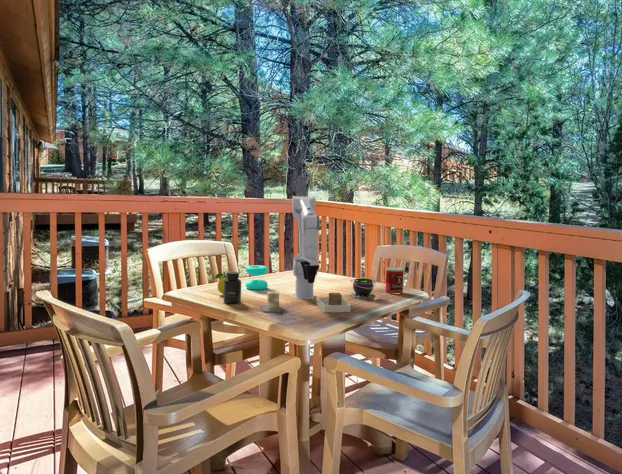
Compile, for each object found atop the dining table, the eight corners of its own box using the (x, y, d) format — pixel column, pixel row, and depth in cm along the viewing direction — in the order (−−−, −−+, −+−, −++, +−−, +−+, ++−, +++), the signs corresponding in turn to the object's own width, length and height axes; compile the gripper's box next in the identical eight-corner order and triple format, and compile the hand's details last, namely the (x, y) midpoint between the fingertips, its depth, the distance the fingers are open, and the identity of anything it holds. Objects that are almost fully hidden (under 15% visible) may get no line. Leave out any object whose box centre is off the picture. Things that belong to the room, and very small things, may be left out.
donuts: (253, 269, 220) (241, 265, 227) (253, 291, 221) (241, 287, 228) (272, 267, 226) (259, 264, 234) (272, 288, 227) (259, 285, 235)
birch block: (277, 306, 193) (277, 291, 192) (279, 309, 189) (279, 293, 188) (267, 306, 192) (267, 291, 191) (268, 309, 188) (268, 293, 187)
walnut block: (328, 308, 191) (328, 292, 191) (338, 308, 192) (339, 292, 191) (330, 311, 187) (331, 295, 187) (341, 310, 188) (341, 295, 187)
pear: (214, 294, 213) (214, 270, 212) (227, 292, 217) (227, 269, 216) (220, 297, 208) (220, 273, 207) (233, 295, 211) (233, 272, 210)
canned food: (391, 295, 220) (392, 270, 219) (381, 291, 227) (382, 267, 226) (406, 294, 223) (407, 269, 222) (396, 290, 230) (397, 266, 229)
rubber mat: (260, 306, 194) (260, 305, 194) (283, 305, 196) (283, 304, 196) (263, 312, 185) (263, 311, 185) (287, 311, 187) (287, 310, 187)
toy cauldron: (361, 303, 203) (362, 276, 202) (337, 296, 216) (338, 271, 214) (387, 299, 212) (388, 273, 211) (364, 292, 224) (364, 268, 223)
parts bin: (315, 304, 199) (316, 297, 198) (340, 304, 201) (341, 296, 200) (323, 313, 185) (323, 305, 185) (350, 313, 187) (350, 305, 187)
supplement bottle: (228, 305, 194) (228, 274, 193) (220, 301, 200) (220, 272, 199) (244, 303, 198) (244, 273, 197) (236, 299, 204) (236, 270, 203)
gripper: (296, 244, 200) (295, 277, 201) (303, 248, 186) (302, 284, 187) (313, 244, 201) (313, 277, 203) (321, 248, 187) (320, 284, 189)
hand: (309, 281), depth 195 cm, fingers open, 7 cm apart
